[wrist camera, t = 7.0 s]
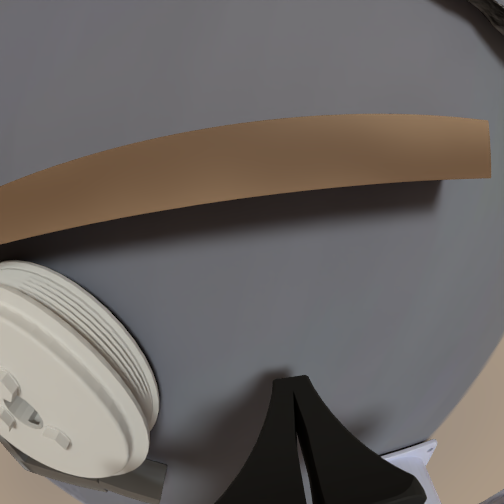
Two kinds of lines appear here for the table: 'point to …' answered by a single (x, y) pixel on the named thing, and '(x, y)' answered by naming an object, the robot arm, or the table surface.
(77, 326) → the lid
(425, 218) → the table surface
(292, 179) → the u-shaped bar frame
